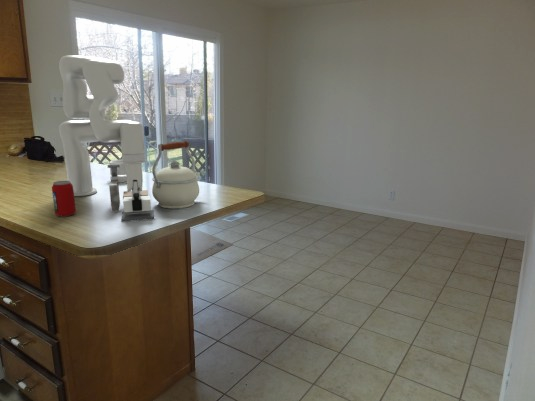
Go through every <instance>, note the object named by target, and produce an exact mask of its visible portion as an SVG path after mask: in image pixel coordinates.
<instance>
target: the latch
mask: <svg viewBox="0 0 535 401" xmlns="http://www.w3.org/2000/svg"><path fill="white" fill-rule="evenodd" d="M117 167H120V164H119V165H109V164H107V168H108V169H110V168H111V174H112V175H110V181H111V180H127V178H126V175H118V174H117Z"/></svg>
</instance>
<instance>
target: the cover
mask: <svg viewBox="0 0 535 401" xmlns="http://www.w3.org/2000/svg"><path fill="white" fill-rule="evenodd" d="M141 200H142V211H151V210H152V205H151V204H152V203H151V196H150V195H148V196H141ZM122 204H123V212H138V211H133V209H132V197H124V199H123V198H122Z"/></svg>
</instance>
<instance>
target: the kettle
mask: <svg viewBox="0 0 535 401" xmlns="http://www.w3.org/2000/svg"><path fill="white" fill-rule="evenodd" d="M181 148H185V152H186V154H187V155H188V156H189V158H190V160H191V164H192V165H191V169H190V168H189V167H186V166H181V163H180V162H179V161H178V160H175V159H174V160H173V161H171V162H170V163H169V165H170V166H165V167H164V168H163V167H162V168H160V169H159V170H157V165H158V163H159V161H160V159H161V157H162V152H163V151H164V150H167V151H169V150H178V149H181ZM157 149H158V155H157V157H156V159H155V160H154V163H153V165H152V169H151V170H152V179H151V180H152V181H153V184H152V188H151V189H152V191H151V192H152V196H153V198H154V199H155V201H157V202H158V206H159V207H161V208H164V209H170V210H176V209H177V210H178V208H179V209H186V208H189V207H192V206H194V205H195V200H196V199H198V197H199V195H200V186H199V178H200V175H201V172H198V171H196V172H195V168H196V160H195V158H194V157H193V155H192V154H191V152H190V150H189V149H190V148H189V141H187V140H184V141H175V142H168V143H164V144H163V143H159V144H157ZM156 170H157V172H156Z"/></svg>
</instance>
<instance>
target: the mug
mask: <svg viewBox="0 0 535 401" xmlns="http://www.w3.org/2000/svg"><path fill="white" fill-rule="evenodd" d="M119 164H120V167H117V174H118V175H126V164H124V163H123V162H122V159H114V160H110V161H109V163H108V165H119ZM109 170H110V171H109V172H110V174H109V175H110V176H111V175H112V174H111V168H109ZM118 183H127V180H118Z"/></svg>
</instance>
